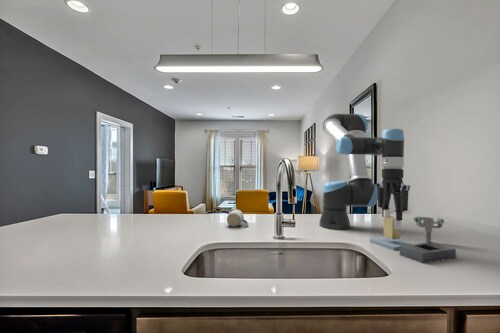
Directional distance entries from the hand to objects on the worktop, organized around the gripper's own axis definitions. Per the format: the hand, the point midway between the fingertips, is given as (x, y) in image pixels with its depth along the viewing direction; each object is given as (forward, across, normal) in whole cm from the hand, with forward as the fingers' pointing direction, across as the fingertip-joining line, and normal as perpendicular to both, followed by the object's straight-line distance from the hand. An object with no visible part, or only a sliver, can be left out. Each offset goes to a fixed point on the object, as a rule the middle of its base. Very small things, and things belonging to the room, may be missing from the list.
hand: (391, 227), depth 99 cm
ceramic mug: (+7, -48, -49) cm, 69 cm away
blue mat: (+7, 0, 0) cm, 7 cm away
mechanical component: (+7, +2, +18) cm, 19 cm away
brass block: (+4, 0, 0) cm, 4 cm away
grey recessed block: (+7, +14, 0) cm, 16 cm away
